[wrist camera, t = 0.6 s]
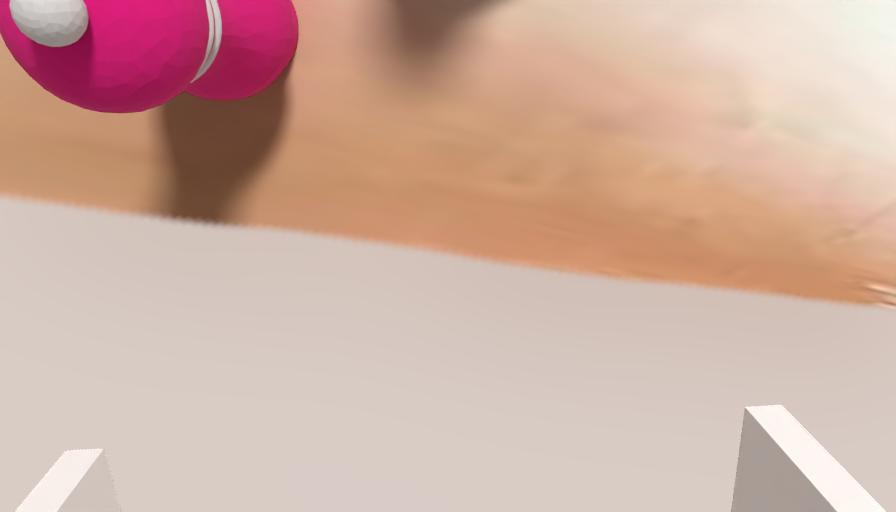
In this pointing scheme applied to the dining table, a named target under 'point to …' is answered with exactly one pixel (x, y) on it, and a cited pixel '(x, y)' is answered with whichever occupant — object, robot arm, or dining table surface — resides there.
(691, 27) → the dining table surface
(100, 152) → the dining table surface
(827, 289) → the dining table surface
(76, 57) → the pepper mill
